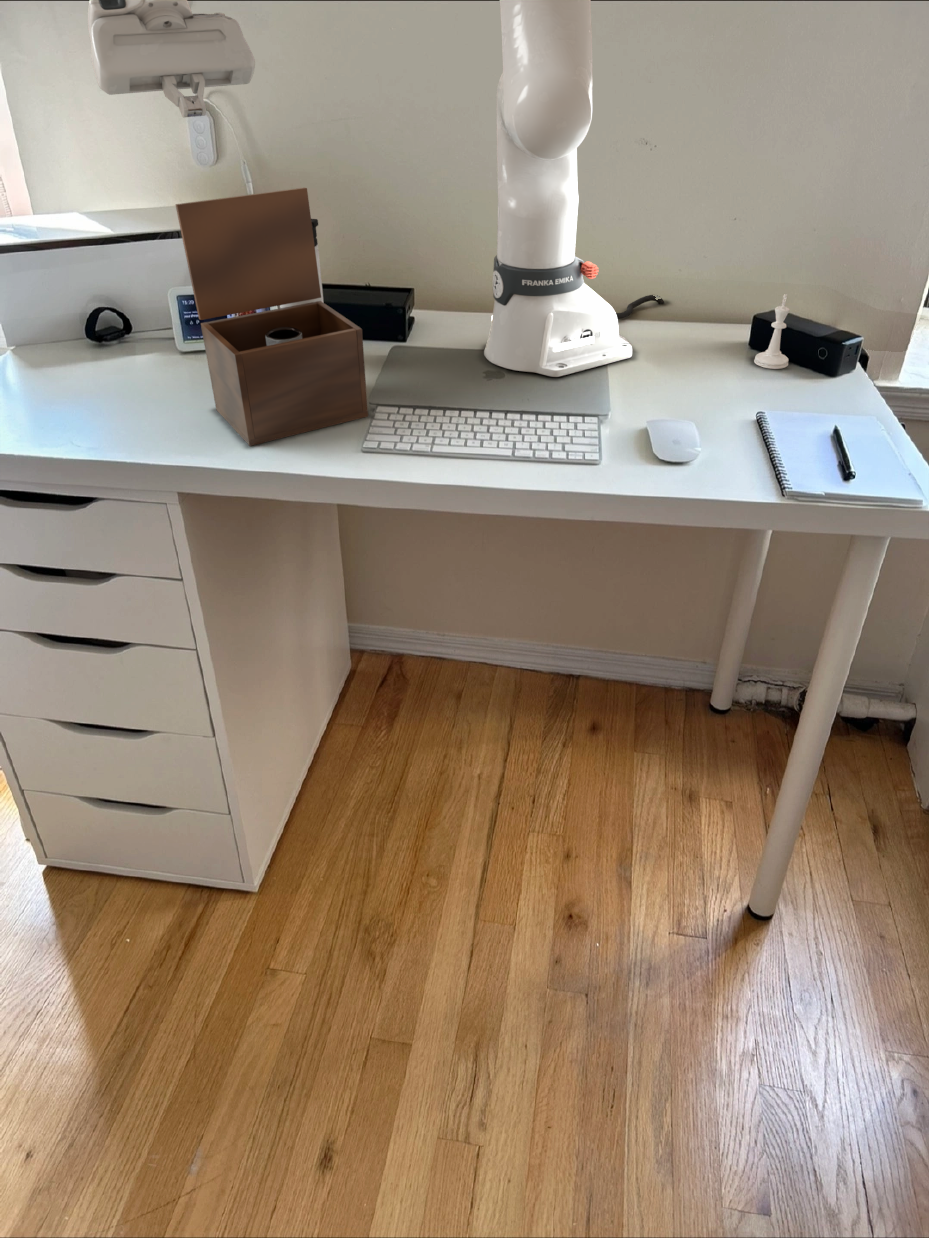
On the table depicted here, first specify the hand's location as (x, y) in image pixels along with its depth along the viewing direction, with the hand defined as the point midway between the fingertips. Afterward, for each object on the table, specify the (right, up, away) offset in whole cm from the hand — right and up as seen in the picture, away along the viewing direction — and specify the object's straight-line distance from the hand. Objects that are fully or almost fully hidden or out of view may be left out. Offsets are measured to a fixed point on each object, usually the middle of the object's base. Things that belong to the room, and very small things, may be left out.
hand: (195, 113), depth 115 cm
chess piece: (+80, -27, +19) cm, 87 cm away
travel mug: (+11, -26, +20) cm, 35 cm away
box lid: (+8, -19, -2) cm, 21 cm away
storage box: (+11, -37, +5) cm, 39 cm away
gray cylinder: (+12, -37, +4) cm, 39 cm away
